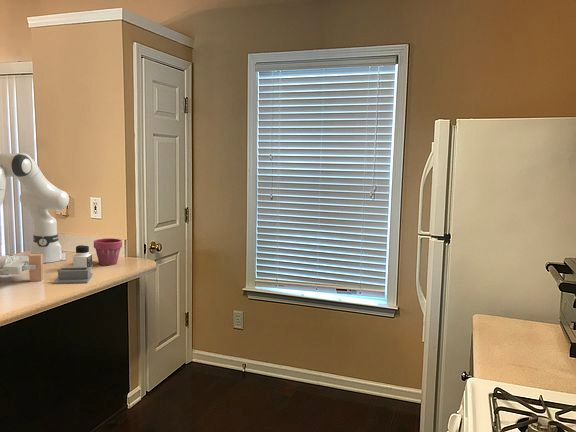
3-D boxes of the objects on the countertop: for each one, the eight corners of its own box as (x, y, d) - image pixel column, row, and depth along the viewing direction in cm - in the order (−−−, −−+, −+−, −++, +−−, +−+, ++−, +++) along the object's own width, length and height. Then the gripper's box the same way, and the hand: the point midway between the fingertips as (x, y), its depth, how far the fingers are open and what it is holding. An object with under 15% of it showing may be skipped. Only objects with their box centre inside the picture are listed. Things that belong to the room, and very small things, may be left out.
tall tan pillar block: (31, 279, 212) (30, 254, 210) (43, 279, 213) (42, 254, 211) (29, 281, 209) (28, 255, 207) (41, 281, 210) (40, 255, 209)
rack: (61, 275, 220) (61, 265, 219) (92, 275, 223) (92, 265, 223) (53, 283, 206) (53, 273, 206) (87, 283, 210) (86, 272, 209)
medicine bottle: (87, 270, 232) (86, 247, 230) (72, 270, 231) (72, 246, 230) (92, 267, 239) (91, 244, 237) (78, 266, 238) (77, 244, 237)
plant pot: (123, 260, 256) (123, 237, 254) (121, 266, 243) (121, 242, 241) (95, 260, 252) (95, 238, 250) (92, 267, 239) (91, 243, 237)
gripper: (-5, 264, 197) (31, 263, 200) (11, 253, 216) (43, 253, 220) (-4, 278, 197) (31, 277, 201) (12, 266, 217) (44, 266, 220)
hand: (38, 265), depth 210 cm, fingers open, 6 cm apart
